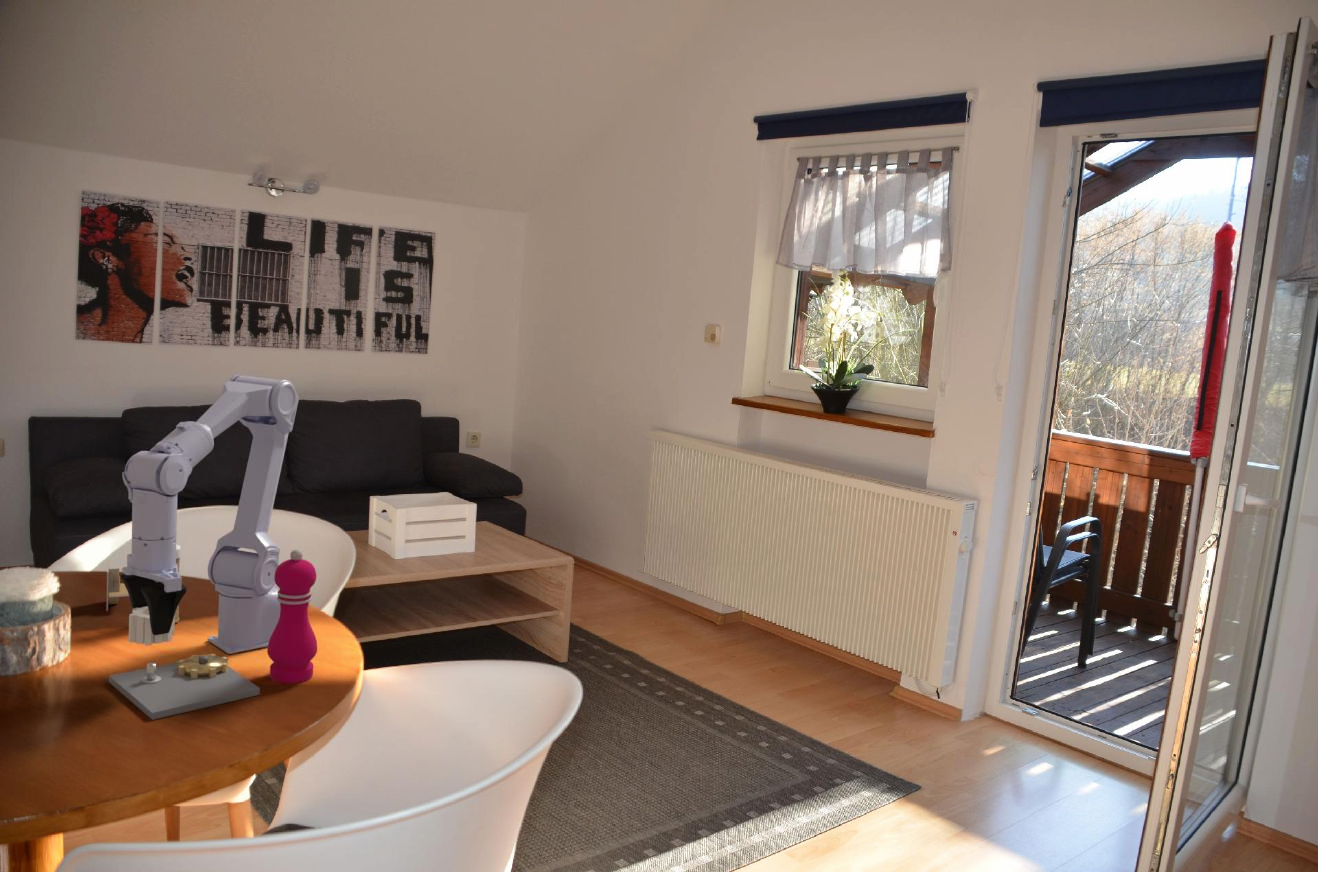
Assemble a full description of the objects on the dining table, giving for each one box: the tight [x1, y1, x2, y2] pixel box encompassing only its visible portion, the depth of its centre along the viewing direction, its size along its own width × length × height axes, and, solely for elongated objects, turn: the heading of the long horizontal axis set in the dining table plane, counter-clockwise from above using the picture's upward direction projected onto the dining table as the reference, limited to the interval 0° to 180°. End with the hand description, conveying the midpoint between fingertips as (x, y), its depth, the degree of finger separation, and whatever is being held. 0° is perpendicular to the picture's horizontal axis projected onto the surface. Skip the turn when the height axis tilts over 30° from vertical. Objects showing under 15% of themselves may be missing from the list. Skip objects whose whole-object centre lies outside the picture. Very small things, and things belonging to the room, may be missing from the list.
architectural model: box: [105, 563, 129, 612], centre depth 179 cm, size 3×7×7 cm, turn 28°
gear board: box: [108, 653, 261, 721], centre depth 148 cm, size 15×16×4 cm
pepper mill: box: [266, 549, 318, 684], centre depth 155 cm, size 7×7×20 cm
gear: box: [128, 606, 176, 646], centre depth 146 cm, size 6×6×4 cm
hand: (152, 627), depth 146 cm, fingers closed on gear, 6 cm apart
